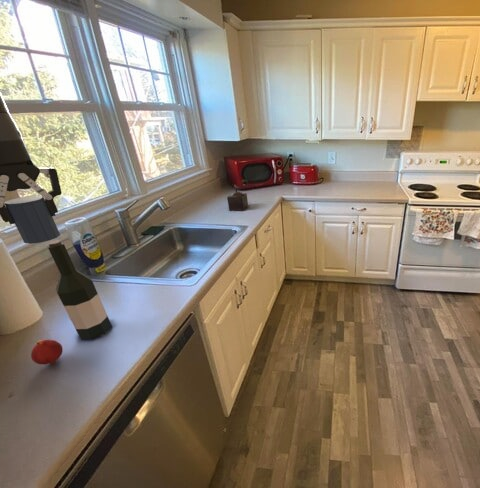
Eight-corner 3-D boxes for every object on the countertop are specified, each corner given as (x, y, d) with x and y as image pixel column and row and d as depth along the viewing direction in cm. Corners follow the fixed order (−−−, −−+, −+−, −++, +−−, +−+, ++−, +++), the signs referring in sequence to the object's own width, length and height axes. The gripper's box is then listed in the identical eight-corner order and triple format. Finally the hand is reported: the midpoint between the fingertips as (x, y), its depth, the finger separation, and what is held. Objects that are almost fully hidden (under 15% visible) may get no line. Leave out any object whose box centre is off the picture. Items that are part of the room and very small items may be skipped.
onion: (44, 357, 76) (31, 335, 73) (70, 351, 78) (58, 329, 75) (34, 374, 71) (19, 351, 68) (62, 367, 73) (49, 344, 70)
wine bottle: (74, 344, 81) (25, 251, 68) (83, 325, 87) (40, 238, 74) (109, 335, 84) (68, 245, 71) (115, 318, 90) (79, 233, 78)
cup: (17, 245, 60) (-4, 205, 56) (33, 234, 65) (15, 197, 61) (51, 241, 62) (33, 202, 58) (64, 231, 67) (49, 194, 63)
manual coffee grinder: (244, 211, 187) (241, 184, 179) (228, 210, 187) (224, 184, 179) (251, 204, 201) (248, 178, 193) (236, 203, 201) (233, 178, 193)
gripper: (42, 135, 62) (71, 208, 69) (-63, 139, 52) (-16, 223, 59) (47, 137, 57) (78, 214, 64) (-67, 142, 47) (-15, 233, 55)
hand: (33, 218), depth 62 cm, fingers closed on cup, 6 cm apart
